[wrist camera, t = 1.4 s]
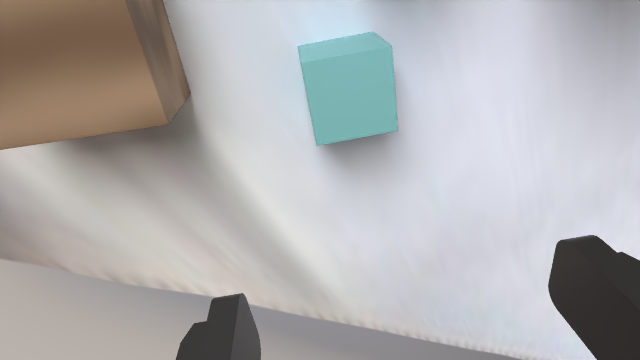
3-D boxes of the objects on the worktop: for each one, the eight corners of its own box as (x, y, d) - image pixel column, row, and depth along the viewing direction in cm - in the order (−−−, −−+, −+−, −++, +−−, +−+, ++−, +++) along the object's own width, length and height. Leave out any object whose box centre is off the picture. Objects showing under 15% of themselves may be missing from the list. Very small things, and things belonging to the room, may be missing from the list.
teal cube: (297, 45, 25) (300, 63, 20) (372, 31, 25) (392, 45, 20) (311, 117, 27) (316, 145, 23) (379, 104, 27) (397, 130, 23)
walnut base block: (-45, -59, 21) (-154, -67, 16) (137, -85, 21) (89, -102, 16) (45, 114, 26) (-15, 152, 20) (191, 92, 26) (168, 124, 21)
